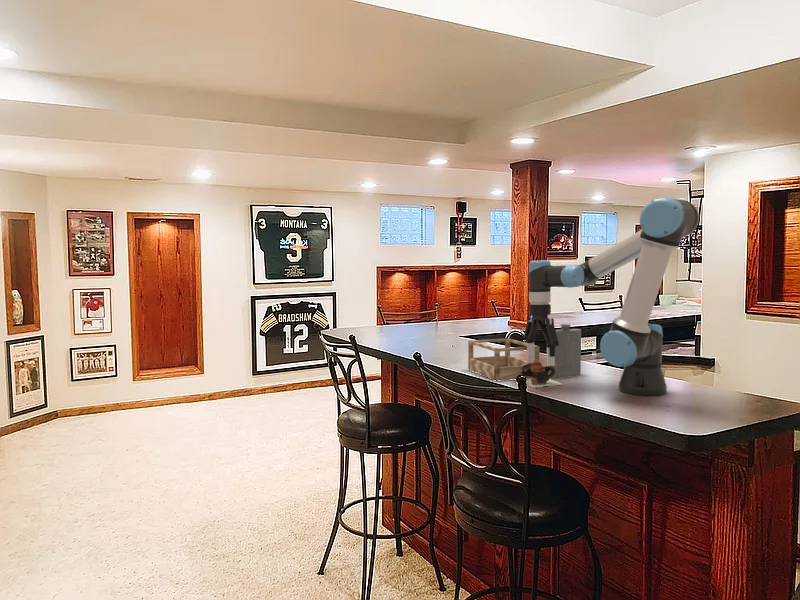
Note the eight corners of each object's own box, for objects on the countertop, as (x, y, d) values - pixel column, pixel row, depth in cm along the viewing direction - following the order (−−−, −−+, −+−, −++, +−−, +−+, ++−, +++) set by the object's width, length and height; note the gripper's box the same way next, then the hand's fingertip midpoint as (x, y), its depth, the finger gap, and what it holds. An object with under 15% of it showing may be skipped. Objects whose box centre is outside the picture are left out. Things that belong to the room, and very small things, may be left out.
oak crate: (539, 378, 231) (539, 346, 230) (496, 381, 225) (496, 349, 225) (508, 367, 254) (508, 338, 253) (468, 370, 248) (468, 340, 247)
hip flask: (576, 373, 240) (577, 322, 239) (584, 375, 237) (584, 323, 235) (544, 377, 233) (545, 324, 231) (552, 379, 229) (552, 325, 228)
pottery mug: (524, 386, 216) (518, 364, 219) (525, 393, 224) (520, 371, 228) (558, 378, 214) (552, 356, 217) (558, 385, 222) (552, 364, 226)
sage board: (562, 385, 218) (562, 383, 218) (532, 387, 214) (532, 386, 214) (544, 379, 230) (544, 377, 230) (515, 381, 226) (515, 379, 226)
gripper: (569, 304, 209) (569, 367, 210) (531, 301, 233) (531, 357, 234) (549, 305, 207) (550, 369, 208) (513, 302, 230) (514, 359, 231)
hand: (540, 363), depth 221 cm, fingers open, 13 cm apart
